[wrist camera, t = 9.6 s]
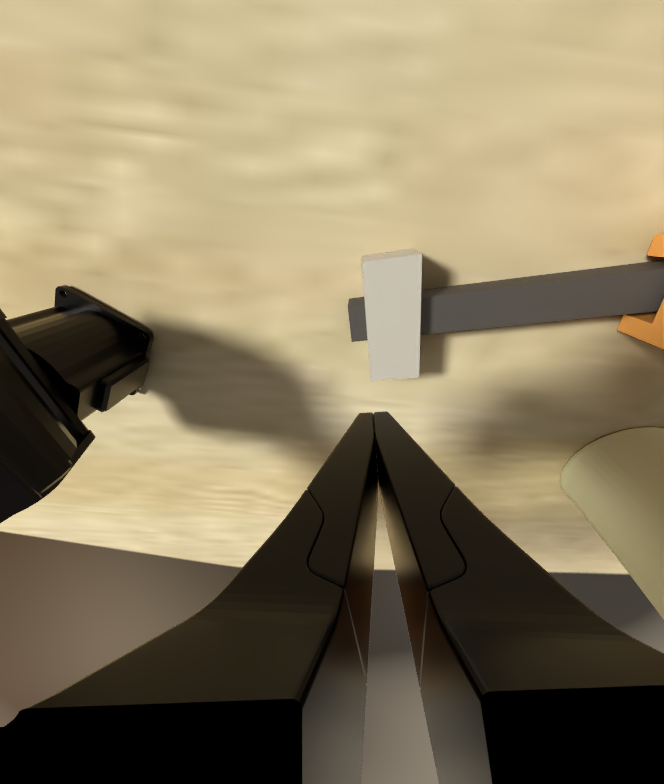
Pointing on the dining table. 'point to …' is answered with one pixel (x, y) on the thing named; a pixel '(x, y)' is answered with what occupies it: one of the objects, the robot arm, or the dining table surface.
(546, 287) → the toy mallet
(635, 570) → the can
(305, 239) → the dining table surface
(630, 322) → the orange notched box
